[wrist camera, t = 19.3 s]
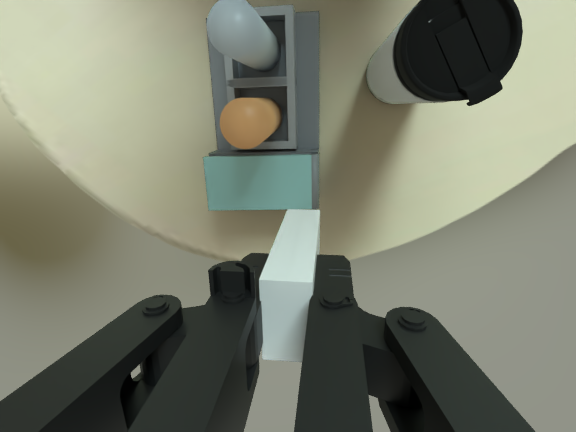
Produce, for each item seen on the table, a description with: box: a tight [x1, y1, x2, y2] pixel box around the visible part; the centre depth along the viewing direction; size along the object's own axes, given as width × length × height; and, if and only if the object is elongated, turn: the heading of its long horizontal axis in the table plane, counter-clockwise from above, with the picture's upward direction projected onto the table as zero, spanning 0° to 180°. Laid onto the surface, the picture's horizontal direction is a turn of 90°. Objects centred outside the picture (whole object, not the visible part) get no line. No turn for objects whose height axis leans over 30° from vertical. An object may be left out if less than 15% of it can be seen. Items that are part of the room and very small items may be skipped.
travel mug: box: [366, 0, 523, 106], centre depth 27 cm, size 6×7×20 cm
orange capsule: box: [220, 98, 283, 149], centre depth 33 cm, size 4×4×12 cm
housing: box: [206, 5, 319, 156], centre depth 38 cm, size 20×12×4 cm, turn 2°
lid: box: [203, 154, 319, 210], centre depth 37 cm, size 6×12×1 cm, turn 92°
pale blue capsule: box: [207, 0, 281, 72], centre depth 31 cm, size 4×4×12 cm
